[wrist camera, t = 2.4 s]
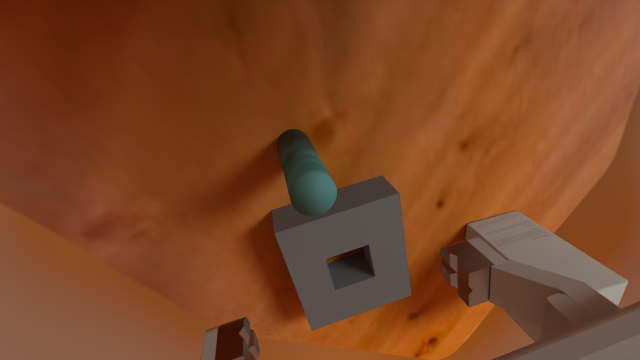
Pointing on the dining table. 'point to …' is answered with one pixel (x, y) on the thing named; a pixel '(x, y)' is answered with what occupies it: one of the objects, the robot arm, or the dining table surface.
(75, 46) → the dining table surface
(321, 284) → the hole block
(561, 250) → the supplement box
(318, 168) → the teal peg
